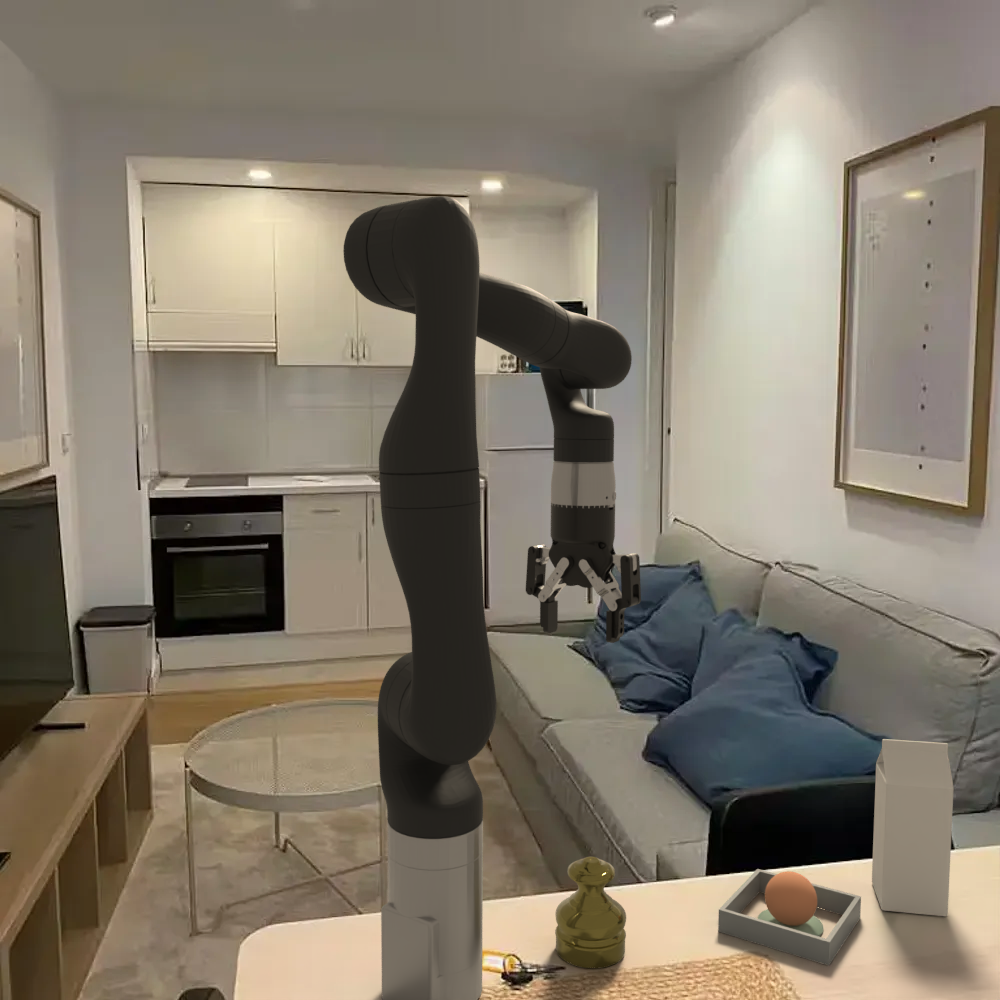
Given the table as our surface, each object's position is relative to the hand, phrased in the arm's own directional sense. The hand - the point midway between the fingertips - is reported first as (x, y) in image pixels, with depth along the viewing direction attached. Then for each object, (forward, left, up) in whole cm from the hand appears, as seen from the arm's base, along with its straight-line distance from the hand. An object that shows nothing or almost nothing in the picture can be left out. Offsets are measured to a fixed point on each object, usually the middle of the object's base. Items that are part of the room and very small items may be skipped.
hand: (581, 636), depth 119 cm
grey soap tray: (+5, -25, -30) cm, 39 cm away
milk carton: (+18, -34, -30) cm, 49 cm away
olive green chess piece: (-13, -9, -30) cm, 34 cm away
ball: (+5, -24, -30) cm, 39 cm away
